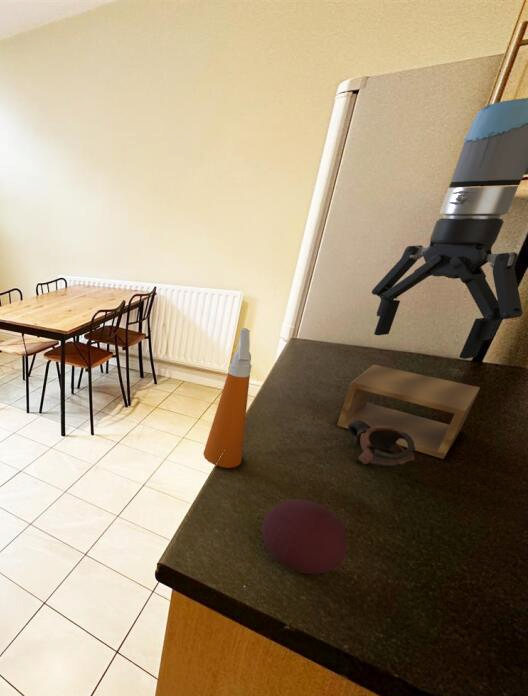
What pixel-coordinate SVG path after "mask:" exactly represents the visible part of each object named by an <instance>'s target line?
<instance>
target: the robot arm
mask: <svg viewBox="0 0 528 696" xmlns="http://www.w3.org/2000/svg"><path fill="white" fill-rule="evenodd" d="M527 175H528V97H527V98H526V97H524V98H516V99H515V98H514V99H510V100H509V99H508V100H503V101H499V102H494V103H490V104H487V105H485V106H483V107H482V108H480V109H479V110H478V112H477V113H476V114H475V116H474V118H473V121H472V122H471V124H470V127H469V130H468V132H467V134H466V136H465V138H464V139H463V146H462V148H461V151H460V154H459V157H458V159H457V163H456V165H455V168H454V171H453V174H452V177H451V180H450V184H449V186H448V188H447V190H446V194H445V197H444V199H443V202H442V205H441V208H440V211H439V214H440V216H442V218H438V220H436V221H435V223H434V226H433V230H432V231H431V235H430V238H429V242H430V243H429V245H428V246H427V247H424V246H423V245H422V244H421V245H417V244H416V245H408V246H406V247H405V249H404V251H403V253H402V256H401V257H400V259H399V260H398V261H397V262H396V264H395V265H394V266H393V267H391V269H390V270H389V271H388V272H387V273H386V275H385V276H383V278H382V279H380V281H379V282H378V283H377V285H375V286H374V287H373V288H372V290H371V294H372V295H373V296H377V297H379V298H380V301H379V305H378V309H377V311H376V317H379V318H378V320H377V324H376V326H375V329H374V332H373V335H374V336H383V335H389V334H390V332H391V328H392V326H393V323H394V320H395V317H396V314H397V312H398V309H399V306H400V303H401V300H398V298H399V296H401V295H403V294H404V293H406V292H407V291H409V290H410V289H412V288H414V287H415V286H416V285H418V284H420V283H421V282H422V281H424V280H426V279H427V278H428V277H430V276H432V277H445V278H448V279H453V280H455V279H460V281H461V283H464V284H465V286H466V288H467V290H468V292H469V293H470V295H471V297H472V299H473V300H474V301H473V302H474V303H475V305H476V306H477V308H478V310H479V312H480V314H481V316H482V317H479V318H475V319H474V321H473V324H472V326H471V328H470V331H469V333H468V334H467V335H468V336H467V338H466V340H465V343H464V344H463V347H462V349H461V352H460V355H459V356H458V359H459V358H460V359H463V360H466V359H473V358H477V357H478V354H479V352H480V350H481V348H482V345H483V344H484V341H488V340H489V341H490V340H491V339H492V338H493V337H494V336H495V334H496V331H497V330H498V327H499V325H500V323H501V322H502V321H503V320H510V319H517V318H521V317H522V315H523V314H524V313H523V309H522V301H521V296H520V292H519V291H520V290H519V286H518V280H517V275H516V270H515V267H516V263H517V260H518V257H519V254H518V253H517V252H515V251H512V252H502V253H493V252H492V247H493V246H494V244H495V243H496V241H497V240H498V237H499V234H500V232H501V230H502V228H503V226H504V222H505V221H504V220H503V218H501V216H504V215H507V214H508V213H509V212H510V208H511V206H512V203H513V201H514V198H515V196H516V193H517V191H518V188H519V186H520V184H521V183H522V180H523V179H524V176H527ZM422 258H423V260H424V262H425V263H423V264H422V265H420V266H419V267H418V268H416V269H415V270H414V271H413V272H412V273H411V274H409V275H407V276H406V277H405V278H403V277H404V276H405V274H406V273H407V272H408V271H409V270H410V269H411V268H412V267H413V266H414V265H415V264H416V263H417V261H418V260H420V259H422ZM487 263H489V266H490V267H491V268H492V278H493V284H494V289H495V293H494V292H493V290H492V288H491V287H490V285H489V283H488V281H487V278H486V277H487V275H486V273H485V271H484V269H483V268H482V267H483V266H485V265H486V264H487ZM402 278H403V279H402ZM401 279H402V280H401Z"/></svg>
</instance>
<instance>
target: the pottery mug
mask: <svg viewBox="0 0 528 696" xmlns="http://www.w3.org/2000/svg"><path fill="white" fill-rule="evenodd" d="M347 430H348V431H349V434H350V435H351V437H352V438H353V439H354V445H355V446H357V447H358V446H360V448H361V450H362V452H361V454H359V455H358V460H359V461H360V462H361V463H362V464H363V465H367V464H372V465H377V466H387V467H389V466H390V467H397V466H398V465H404V464H406V463H407V462H411V461H412V462H413V461H415V455H414V454H415V453H414V451H416V450H415V449H416V448H415V446H414V441H413V439H412V438H411V437H410V436H409V435H408V434H407V433H405V432H404V431H402V430H400V429H398V428H395V427H391V426H386V425H379V426H374V427H371V426H369V425H368V424H366V423H365V422H363V421H360V420H354V421H352V422H351V423H350V424H349V425H348V429H347ZM400 438H401V439H405V440H406V442H407V444H408V448H406V450H405V449H404V447H403V446H400V445H398V444H397V443H396V441H397V440H399V439H400ZM374 447H375V448H374ZM371 448H374V451H373V450H371ZM377 448H382V449H386V450H389V451H390V452H391V453H389V452H384V451H381V450H379V449H377Z"/></svg>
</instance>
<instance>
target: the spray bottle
mask: <svg viewBox="0 0 528 696" xmlns="http://www.w3.org/2000/svg"><path fill="white" fill-rule="evenodd" d="M250 331H251V330H249V329H248V328H246V327H244V328H241V329H240V331H239V337H238V348H237V350H236V351H235V352H234V355H233V356H232V361H230V362H229V367H228V373H227V375H226V379H225V382H224V385H223V388H222V392H221V394H220V398H219V402H218V404H217V408H216V410H215V415H214V417H213V420H212V424H211V427H210V430H209V434H208V437H207V440H206V444H205V447H204V449H203V452H202V454H203V457H204V459H205V460H206V461H207V462H208V463H210V464H212V465H214V466H217V467H221V468H226V469H230V468H231V469H232V468H236V467H238V466H240V465H241V462H242V459H243V448H244V437H245V430H246V429H245V428H246V417H247V407H248V399H249V398H248V397H249V388H250V387H249V386H250V377H251V371H252V364H251V361H252V354H251V352H250V347H251V345H250ZM224 450H225V451H224ZM222 453H223V455H222ZM221 455H222V456H221ZM220 456H221V458H220ZM219 458H220V460H219ZM218 460H219V462H218ZM217 462H218V464H217V465H216V463H217Z"/></svg>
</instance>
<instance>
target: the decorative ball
mask: <svg viewBox="0 0 528 696" xmlns="http://www.w3.org/2000/svg"><path fill="white" fill-rule="evenodd" d="M261 531H262V538H263V541H264V544H265V546H266V548H267V549H268V551H269V552H270V554H271V555H272V556H273V557H274V558H275V559H276V560H277V562H279V563H280V564H282V565H284V566H285V567H286V568H288V569H290V570H293V571H295V572H298V573H301V574H305V575H306V574H307V575H320V574H325V573H328V572H331V571H333V570H335V569H336V568H337V567H339V565H341V564H342V563H343V561H344V560H345V558H346V556H347V554H348V550H349V539H348V534H347V532H346V529H345V526H344V525H343V524H342V522H341V521H340V519H339V518H338V516H336V515H335V513H333V512H332V511H331V510H329V509H328V508H327V507H325V506H323V505H322V504H320V503H317V502H314V501H312V500H307V499H300V498H299V499H298V498H295V499H294V498H293V499H286V500H283V501H280V502H278V503H276V504H275V505H273V506H272V507H271V508H270V509H269V510H268V511H267V513H266V514H265V516H264V518H263V521H262V525H261Z"/></svg>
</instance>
